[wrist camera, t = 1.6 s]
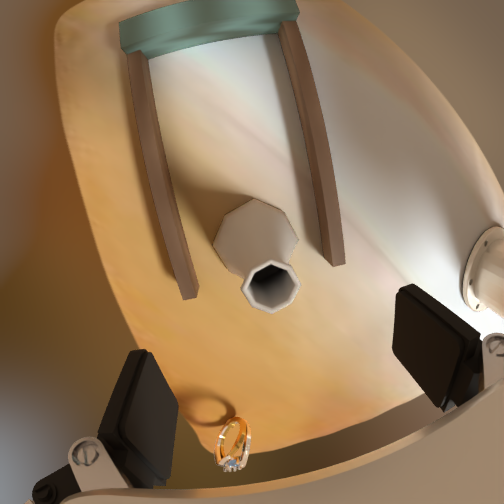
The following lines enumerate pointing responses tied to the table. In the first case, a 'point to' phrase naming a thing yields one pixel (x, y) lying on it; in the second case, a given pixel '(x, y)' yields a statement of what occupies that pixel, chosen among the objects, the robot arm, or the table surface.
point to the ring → (243, 434)
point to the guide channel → (206, 31)
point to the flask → (260, 254)
